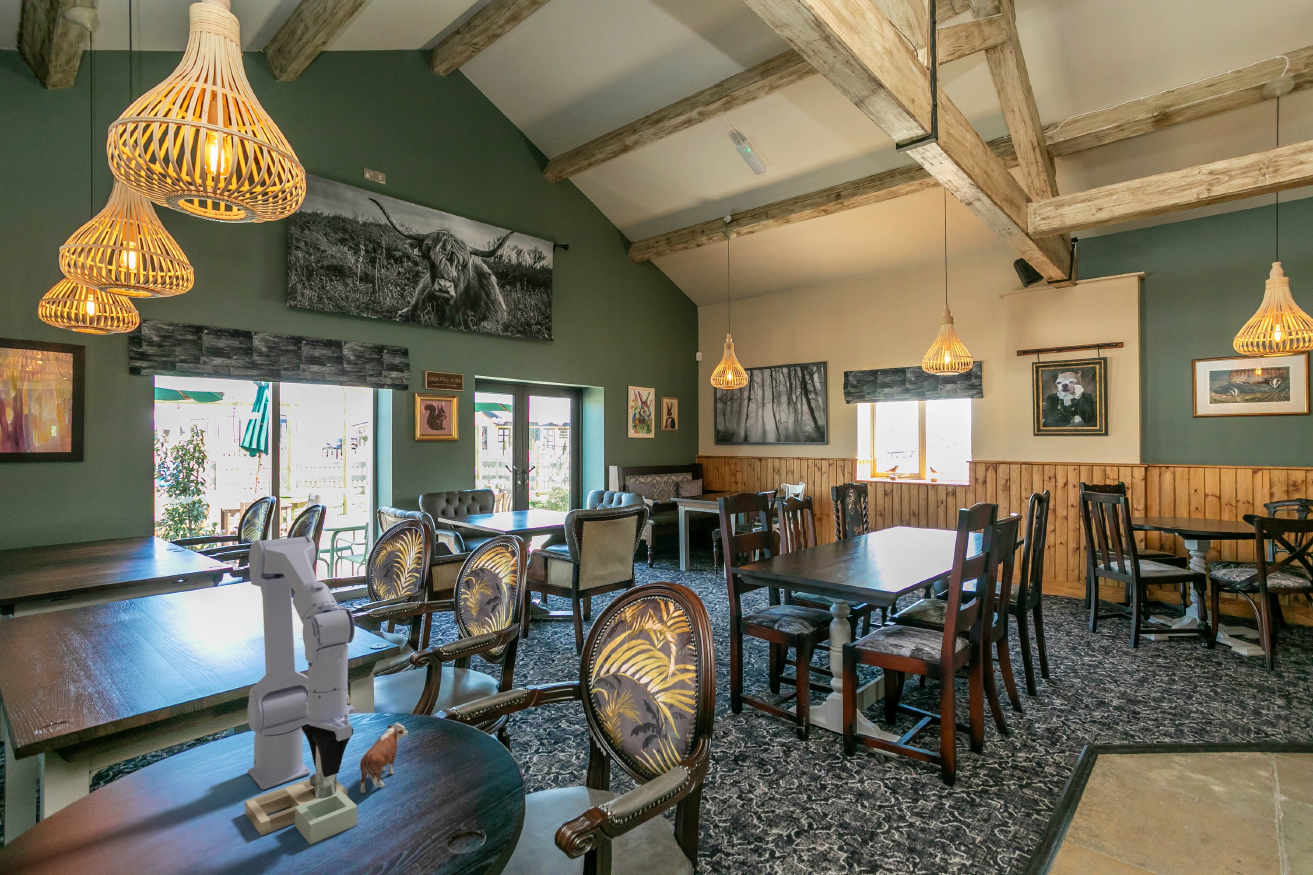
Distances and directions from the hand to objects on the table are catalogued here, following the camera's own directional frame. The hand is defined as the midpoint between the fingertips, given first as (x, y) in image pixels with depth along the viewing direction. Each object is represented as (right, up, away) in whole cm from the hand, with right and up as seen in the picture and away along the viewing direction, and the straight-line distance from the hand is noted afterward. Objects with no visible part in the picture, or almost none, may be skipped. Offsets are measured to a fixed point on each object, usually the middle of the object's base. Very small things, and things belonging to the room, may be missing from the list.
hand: (326, 770), depth 102 cm
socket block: (-7, -9, +4) cm, 12 cm away
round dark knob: (-4, -9, +7) cm, 12 cm away
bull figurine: (+3, -9, +15) cm, 17 cm away
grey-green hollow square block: (0, -9, 0) cm, 9 cm away
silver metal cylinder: (0, -4, 0) cm, 4 cm away
